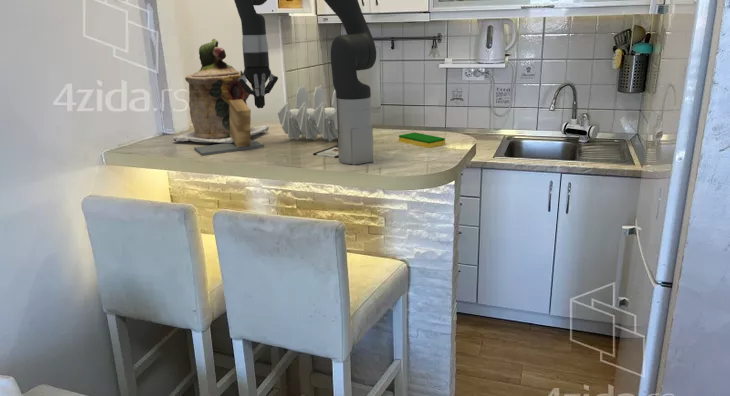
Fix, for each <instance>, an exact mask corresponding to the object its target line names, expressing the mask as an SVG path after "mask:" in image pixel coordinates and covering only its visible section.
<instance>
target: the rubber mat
mask: <svg viewBox="0 0 730 396" xmlns="http://www.w3.org/2000/svg"><path fill="white" fill-rule="evenodd" d="M261 148H263V149H264V148H265V144H264V143H263V144H262V143H261V142H259V141H257V140H255V139H250V146H245V147H237V146H236V144H235V143H234V142H233V143H216V144H211V145H202V146H195V147H193V149H194V151H195V152H197V153H198V154H199V155H200V156H202V157H203V156H209V155H218V154H225V153H231V152H241V151H247V150H254V149H261Z"/></svg>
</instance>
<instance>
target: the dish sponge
mask: <svg viewBox="0 0 730 396" xmlns="http://www.w3.org/2000/svg"><path fill="white" fill-rule="evenodd" d="M398 142H400V143H405V144H407V145H408V144H409V145H412V146H413V145H414V146H418V147H423V148H427V149H432V148H437V147H441V146H445V144H446V138H445V137H440V136H435V135H429V134H424V133H420V132H415V131H414V132H410V133H404V134H400V135H398Z"/></svg>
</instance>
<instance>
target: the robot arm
mask: <svg viewBox="0 0 730 396" xmlns="http://www.w3.org/2000/svg"><path fill="white" fill-rule="evenodd" d="M233 1H234V4H235V8H236V9H237V13H238V16H239V19H240V21H241V34H242V35H241V36H242V38H241V39H242V40H241V44H242V55H243V56H242V57H243V66H244V67H243V68H244V69H243V71H242V72H243V76H242V77H241V78H238V79H237V81H238V83H239V84H240V85H241V86H242V87H243V88H244V89H245V90H246V92H247V93H248V94H250V95H251V96H253V98H254V106H255V107H256V108H257V109H263V108H264V107H265V105H266V102H265V101H266V100H265V96H266V95H267V94H270V93H271V91H272V90H273V88H274V86H275V85H276V83H277V82H278V80H279V77H278V76H276V75H275V74H273V73H272V70H271V68H270V57H269V44H268V40H267V32H266V31H267V29H266V28H267V27H266V19H265V17H264V15H262V14H260V13H257V12H256V9H255V6H262V5H264V4H266V2H267V1H268V0H233ZM323 1H324V3H326V5H327V6H328V7H329V8H330V10H332V11H333V13H335V15H336V16H337V17H338V19H340V22H341V23H342V25H343V28H344V30H345V33H346V34H340V35H337V36H335V38H334V39H333V41H332V42H331V47H330V65H331V75H332V86H333V88H334V89H333V90H335V91H336V106H337V131H338V135H337V145H338V154H339V158H338V162H340V163H341V164H346V165H347V164H349V165H360V164H367V163H373V162H374V140H373V139H374V137H373V136H374V135H373V134H374V133H373V132H374V131H373V127H372V108H371V107H372V104H371V103H372V99H371V96H372V95H371V94H372V92H371V91H372V90H371V87H370V86H369V85H368V84H365V83H363V82H361V81H360V80H359V79H358V72H359V71H365V70H370V69H371V68H373V67H374V65H375V63H376V60H377V49H376V44H375V41H374V39H373V38H374V37H373V36H372V33H371V31H370V28H369V26H368V24H367V20H366V19H365V16H364V14H363V12H362V8H361V6H360V3H359V0H323ZM357 71H358V72H357ZM247 82H249V84H250V85H251V86H249V85H248V84H247ZM266 83H267V84H266Z"/></svg>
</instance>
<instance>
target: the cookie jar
mask: <svg viewBox="0 0 730 396" xmlns="http://www.w3.org/2000/svg"><path fill="white" fill-rule="evenodd" d="M198 55H199V60H200V65H201V67H200V69H199V70H198V71H196V72H194V73H193V74H189V75H186V76H185V78H184V79H185V81H186V82H187V83H188V98H189V99H188V106H189V116H190V120H191V121H190V122H191V124H192V125H193V128H194V131H191V132H185V133H182V134H180V135H179V134H178V135H175V136H172V139H173V141H174V142H177V141H178V142H188V141H189V142H192V143H215V144H224V143H233V142H234V141H233V140H232V138H231V137H230V112H229V100H240V99H242V100H243V101H244V102H245V104H246V105H247V106H248V103H247V100H248V99H249V97H250V95H251V94H248V93H247V92H246V90H245V89H244V88H243V87H242V86H241V85H240V84H239V83H238V81H237V79H238V78H241V77H242V76H243V72H244V71H242V70H236V69H235V68H234V67H233V66H232V65H229V64H228V63H227V62H225V61H224V59H226V57H227V54H226V51H225V49H224V48H223V47H219V41H218V40H217V39H216V38H212V40H211V42H207V43H204V44H201V45H200V46H199V48H198ZM269 129H270V124H267V125H257V126H250V137H253V136H255V135H258V134H262V133H264V132H265V133H266V132H268V131H269Z"/></svg>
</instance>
